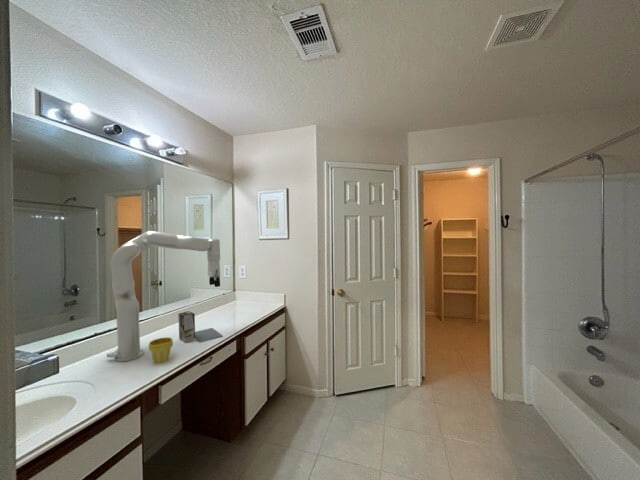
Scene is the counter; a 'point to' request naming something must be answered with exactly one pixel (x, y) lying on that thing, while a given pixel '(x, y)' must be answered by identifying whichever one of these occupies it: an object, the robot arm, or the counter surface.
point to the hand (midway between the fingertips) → (214, 285)
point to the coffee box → (186, 326)
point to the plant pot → (160, 349)
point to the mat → (207, 335)
